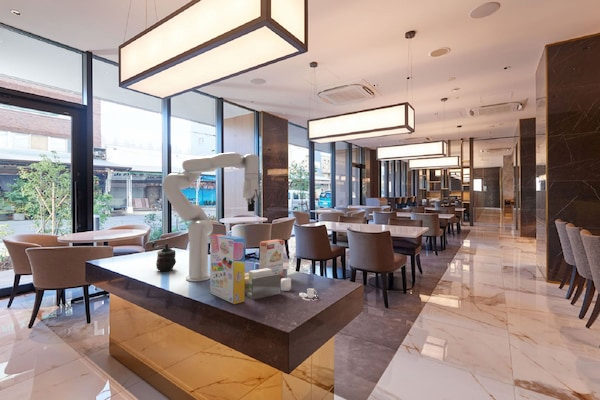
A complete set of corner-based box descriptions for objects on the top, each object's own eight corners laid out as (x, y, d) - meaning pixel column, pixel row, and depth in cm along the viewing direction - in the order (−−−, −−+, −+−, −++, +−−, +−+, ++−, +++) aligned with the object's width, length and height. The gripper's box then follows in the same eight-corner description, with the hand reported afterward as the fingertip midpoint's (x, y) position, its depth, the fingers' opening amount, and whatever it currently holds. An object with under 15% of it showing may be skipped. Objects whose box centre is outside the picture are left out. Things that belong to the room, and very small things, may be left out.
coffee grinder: (145, 272, 173) (145, 242, 173) (165, 267, 187) (165, 238, 187) (162, 275, 168) (162, 243, 168) (181, 269, 182) (181, 240, 182)
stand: (233, 288, 145) (233, 269, 145) (258, 283, 153) (258, 266, 153) (253, 299, 129) (253, 278, 129) (280, 293, 137) (280, 274, 137)
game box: (245, 302, 126) (245, 237, 126) (233, 305, 122) (234, 239, 122) (220, 290, 140) (220, 233, 140) (209, 293, 137) (210, 234, 137)
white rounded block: (278, 289, 145) (278, 278, 145) (287, 287, 148) (287, 277, 148) (284, 291, 141) (284, 281, 141) (293, 289, 144) (293, 279, 144)
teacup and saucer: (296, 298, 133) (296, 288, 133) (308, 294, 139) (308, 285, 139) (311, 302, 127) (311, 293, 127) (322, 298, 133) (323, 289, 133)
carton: (248, 270, 137) (253, 272, 134) (267, 268, 143) (272, 269, 140) (248, 290, 137) (252, 292, 134) (267, 286, 143) (271, 288, 140)
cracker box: (267, 282, 156) (267, 242, 156) (258, 280, 160) (259, 241, 160) (283, 276, 168) (284, 239, 168) (275, 274, 171) (276, 238, 171)
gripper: (238, 177, 164) (238, 210, 164) (251, 176, 152) (251, 212, 152) (251, 178, 168) (250, 210, 168) (264, 177, 157) (264, 211, 157)
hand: (251, 211), depth 160 cm, fingers closed
